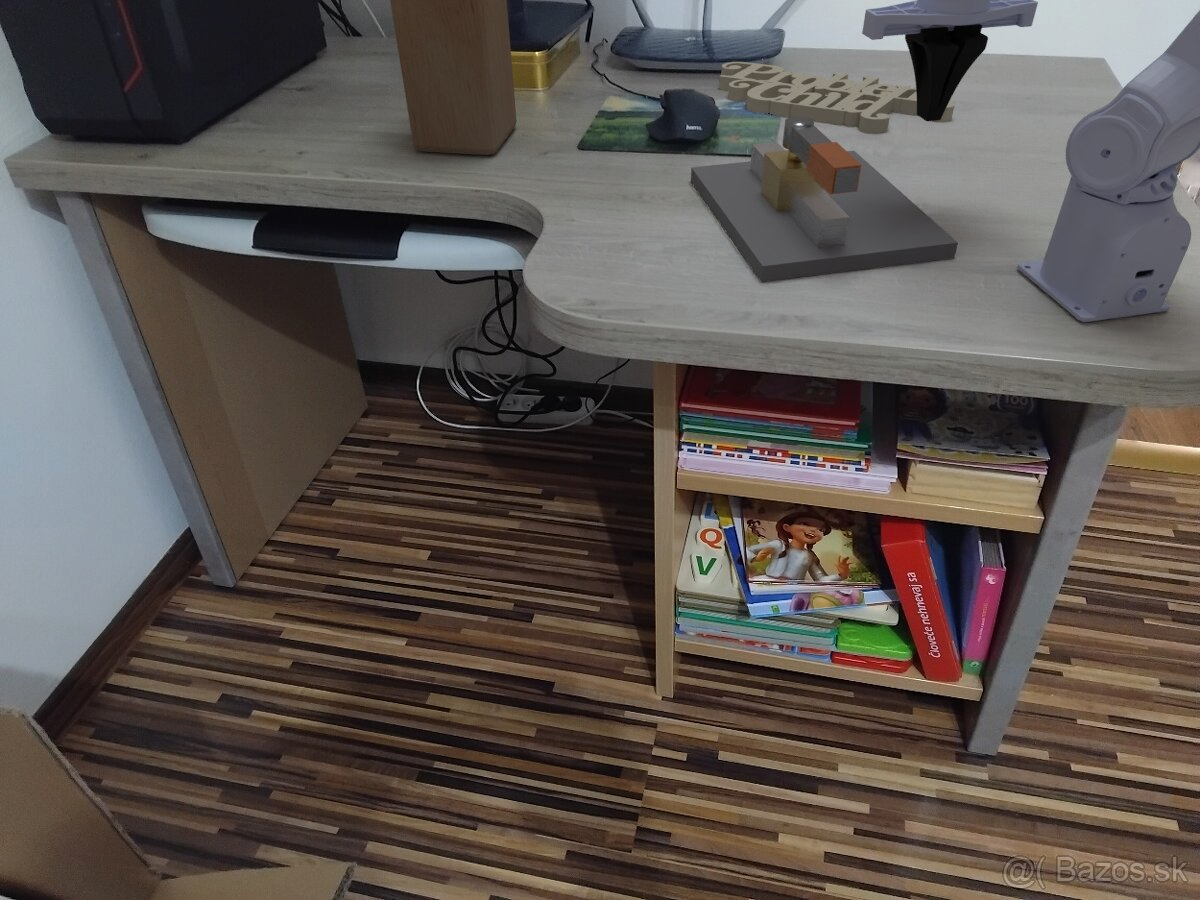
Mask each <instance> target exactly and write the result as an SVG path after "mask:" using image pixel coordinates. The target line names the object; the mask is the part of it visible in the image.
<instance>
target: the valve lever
mask: <svg viewBox="0 0 1200 900" xmlns="http://www.w3.org/2000/svg"><path fill="white" fill-rule="evenodd" d="M782 148H783V149H784V148H785V149H787V150H788V149H789V150H791V151H792V152H793V153H794V154H795V155H796V156H797V157H798V158H799V159H800V160H801V161H802V162H803V163H804V164H805V165H806V166H807V171H808V172H809V173H810V174H811V175H812V176H813V178H814V179H815V180H816V181H817V182H818V183H819V184H820V185H821V186H822V187H823V188H824V189H825V190H826V191H827V192H828V193H829V194H830V195H831V194H840V193H849V192H857V189H858V183H859V178H860V172H861V166H862V165H861V164H860V163H859V162H858V161H857V160H856V159H855V158H854V157H853V156H851V155H850V154H849V153H848V152H847V151H848V150H846V149H845V148H844V147H843V146H841V144H840V143H838V142H837V141H832V140H830V138H828V137H827V136H826V135H825V134H824V133H823V132H822V131H820V130H819V129H818V128H817V126H815V121H813V120H812V119H810V118H807V117H789V118H787V117H786V119H785V121H784V126H783V137H782Z"/></svg>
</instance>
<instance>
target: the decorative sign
mask: <svg viewBox="0 0 1200 900" xmlns="http://www.w3.org/2000/svg"><path fill="white" fill-rule="evenodd" d="M848 77H849V73H837V72H833V73H832V77H829V78H828V79H827V78H826V77H824V76H820V75H809V74H808V75H805V74H804V73H801V72H791V71H785V68H783V67H782V66H778V65H772V64H764V63H763V64H762V63H757V62H745V61H731V62H725V63H722V65H721V75H719V78H718V79H719V81H718V89H719V90H721V91H728V95H727V98H728V100H730V101H732V102H746V104H745V106H746V107H745V108H746V110H747V109H748V110H747V111H749V110H750V111H749V112H751V111H753V112H752V113H754V112H759V113H770V114H773V115H776V116H775V117H781V118H786V119H787V118H790V117H807V118H810V119H812V120H813V121H814V123H823V124H827V125H828V124H829V125H835V126H836V125H837V126H845V127H848V128H849V127H850V128H852V127H853V128H855V127H858V131H859V132H862V133H864V134H870V135H879V134H885V133H887V132H888V130H889V129H888V127H889V124H890V118H891V115H890V114H892V113H894V114H901V115H909V116H914V117H915V116H918V115H917V94H916V87H911V86H910V85H897V84H896V85H894V84H891V83H890V84H889V83H879V80H880V77H877V76H875V77H873V76H872V77H871V76H862V80H861V81H860V82H858V83H857V82H856V81H855V80H852V79H848ZM955 105H956V104H955V102H954V103H953V102H951V101H949V103H948V105H947V107H946V109H945V111H944V113H943V116H942V118H941V120H937V121H931V122H934V123H949V122H951V121H952V119H953V115H954V109H955ZM770 114H769V115H770ZM773 115H772V116H773Z"/></svg>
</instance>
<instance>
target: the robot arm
mask: <svg viewBox="0 0 1200 900" xmlns="http://www.w3.org/2000/svg"><path fill="white" fill-rule="evenodd" d="M1038 4H1039V2H1038V1H1036V0H911V1H906V2H902V3H897V4H891V5H888V6H883V7H876V8H875V7H874V8H867V9H865V13H864V19H863V25H862V32H861V34H862V35H864V36H866V37H867V38H868V39H870V40H872V41H875V40H882V39H884V37H891V36H892V37H893V36H894V37H895V36H904V39H905V43H906V45H907V48H908V51H909V55H910V59H911V63H912V68H913V73H914V80H915V81H914V82H915V88H916V94H917V116H918V117H920V118H921V119H922V120H923V121H925V122H932V121H937V120H941V118H942V116H943V113H944V111H945V109H946V107H947V105H948V103H949V102H951V99H952V97H953V95H954V93H955V91H956V89H957V88H958V86H959V84H960V83H961V82H962V79H964V77H965V75H966V74H967V72H968V71H969V69H970V68H971V67H972V65H973V64H974V63H975V62H976V61H977V59H978V58H979V57H980V56H981V55H982V54H983V52H984V51H986V48H987V45H988V40H989V37H988V36H987V35H986V34H984V33H982V29H986V28H998V27H1008V26H1009V27H1011V26H1017V27H1020V28H1028V27H1029V28H1031V27H1032V25H1033V22H1034V19H1035V15H1036V12H1037V8H1038ZM1199 150H1200V9H1199V10H1198V12H1196V14H1195V15H1194V16H1193V18H1191V20H1190V21H1189V22H1188V23H1187V25H1186V26H1185V27H1184V28H1183V30H1181V32H1180V33H1179V34H1178V35H1177V37H1176V38H1175V39H1174V40H1173V41H1172V42H1171V44H1170V45H1169V46H1168V47H1167V48H1166V50H1164V51H1163V53H1162V54H1161V55H1160V56H1158V57H1157V58H1156V59H1155V60H1154V61H1152V62H1151V63H1150V64H1149V65H1147V66H1146V67H1145V68H1144V69H1143V70H1142V71H1140V72H1139V73H1138V74H1136V76H1135V77H1133V78H1132V79H1131V80H1130V81H1129V82H1127V83H1126V84H1125V85H1124V87H1123V88H1122V89H1121V90H1120V91H1119V92H1118V93H1117V95H1116V96H1115V97H1114V98H1113V99H1112V100H1110V102H1108V103H1107V104H1105V105H1104V106H1102V107H1100V108H1098V109H1096V110H1093V111H1091V112H1090V113H1088V114H1087V115H1085V116H1084V117H1083V118H1081V120H1079V121H1078V122H1077V123H1076V125H1075V126H1074V127H1073V128H1072V130H1071V132H1070V134H1069V137H1068V139H1067V142H1066V146H1065V161H1066V162H1065V163H1066V166H1067V169H1068V172H1069V173H1070V175H1071V176H1070V179H1069V183H1068V185H1067V189H1066V191H1065V195H1064V198H1063V201H1062V202H1061V206H1060V209H1059V213H1058V216H1057V219H1056V222H1055V225H1054V227H1053V231H1052V232H1051V233H1052V234H1051V237H1050V240H1049V242H1048V246H1047V249H1046V252H1045V255H1044V258H1043V259H1035V260H1034V259H1033V260H1027V261H1021V262H1018V263H1017V266H1016V268H1017V269H1018V270H1019V271H1020V272H1021V273H1022V274H1023V275H1024V276H1025V277H1027V278H1028V279H1029V280H1030V281H1031V282H1033V283H1034V284H1036V286H1038V288H1040V289H1041V290H1043V292H1045V294H1047V295H1048V296H1050V298H1052V299H1053V300H1054V301H1055V302H1057V303H1058V304H1059V305H1060V306H1061V307H1063V309H1065V310H1066V311H1067V312H1069V314H1071V315H1072V316H1073V317H1075V319H1077V320H1078V321H1080V322H1082V323H1087V322H1096V321H1103V320H1111V319H1118V318H1125V317H1131V316H1138V315H1139V316H1140V315H1147V314H1153V313H1154V314H1155V313H1161V312H1162V313H1163V312H1168V311H1169V310H1170V309H1171V307H1172V306H1171V305H1172V304H1171V303H1169V302H1168V301H1166V299H1167V296H1168V294H1169V291H1170V290H1171V287H1172V286H1173V285H1172V284H1173V282H1174V280H1175V278H1176V276H1177V274H1178V272H1179V269H1180V267H1181V265H1182V262H1183V259H1184V257H1185V255H1186V253H1187V251H1188V248H1189V246H1190V244H1191V239H1192V229H1191V225H1190V223H1189V220H1187V219H1186V218H1185V217H1184V216H1183V215H1182V214H1181V213H1180V211H1179V210H1178V208H1177V206H1176V204H1175V199H1174V193H1175V191H1176V187H1177V182H1178V168H1179V167H1180V163H1183V162H1184V161H1186V160H1188V159H1190V158H1191V157H1193V156H1194V155H1195V154H1196V153H1197V152H1199Z"/></svg>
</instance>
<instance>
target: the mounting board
mask: <svg viewBox="0 0 1200 900" xmlns="http://www.w3.org/2000/svg"><path fill="white" fill-rule="evenodd" d="M846 151H847V152H848V153H849V154H850V155H851V156H853V157H854V158H855V159H856V160H857V161H858V162H859V163H860V164H861V165H862V166H861V172H860V178H859V183H858V189H857V192H849V193H840V194H831V195H830V194H829V193H828V192H827V191H826V190H825V189H824V188H823V190H824V191H825V192H826V193H827V194H828V195H829V196H830V197H831V198H832V199H833V200H834V201H835V202H836V203H837V204H838V206H839V207H840V208H841V209H842V210H843V211H844V212H845V213H846V214H847V215H848V216H849V217H850V218H849V224H848V230H847V236H846V242H845V245H839V246H830V247H822V248H817V247H816V246H815V245H814V244H813V243H812V241H811V240H810V239H809V238H808V237H807V236H806V234H805V233H804V232H803V231H802V230H801V229H800V227H799V226H798V225H797V224H796V223H795V221H794V220H793V219H792V218H791V217H790V216H789V214H788V213H787V212H786V211H779V212H776V211H775V210H774V208H773V207H772V206H771V205H770V204H769V202H768V201H767V200H766V199H765V198H764V196H763V195H762V194H761V184H762V183H761V182H760V180H759V179H758V178H757V177H756V176H755V174H754V173H753V172H752V171H751V170H750V165H751V160H750V161H741V162H732V163H730V162H729V163H721V164H712V165H702V166H693V167H692V166H691V168H690V182H691V184H692V185H693V186H694V188H695V190H696V191H697V192H698V194H699V195H700V197H701V198H702V200H703V201H704V202H705V204H706V206H707V207H708V208H709V209H710V211H711V212H712V214H713V215H714V217H715V218H716V220H717V221H718V223H719V224H720V226H721V227H722V228H723V230H724V231H725V232H726V234H727V236H728V237H729V238H730V239H731V241H732V242H733V244H734V246H735V247H736V249H738V251H739V252H740V254H741V256H743V258H744V259H745V261H746V262H747V264H748V265H749V267H750V268H751V270H752V272H754V274H755V275H756V277H757V278H758V280H759V281H760V282H761V283H763V282H769V281H779V280H780V281H781V280H787V279H788V280H789V279H797V278H804V277H811V276H819V275H825V274H826V275H827V274H835V273H845V272H852V271H860V270H861V271H862V270H867V269H868V270H869V269H876V268H877V269H878V268H884V267H894V266H900V265H908V264H917V263H924V262H925V263H926V262H934V261H943V260H950V259H955V255H956V253H957V248H958V245H959V242H958V241H957V240H956V239H955V238H954V237H953V236H951V235H950V234H949V233H948V232H947V231H946V230H945V229H944V228H942V227H941V226H940V225H939V224H938V223H937V222H936V221H935V220H933V218H931V217H930V216H929V215H928V214H926V213H925V212H924V211H923V210H922V209H921V208H920V207H918V206H917V205H916V204H915V203H914V202H913V201H912V200H911V199H910V198H908V197H907V196H906V195H905V194H904V193H902V192H901V191H900V190H899V189H898V187H896V186H895V185H894V184H893V183H891V181H889V180H888V179H887V178H886V177H885V176H884V175H882V174H881V172H879V171H878V170H877V169H876V168H874V167H873V166H872V165H871V164H870V163H869V162H868V161H867V160H866V159H864V158H863V157H862V156H861V155H860V154H859V153H858V152H856V151H855V150H846Z"/></svg>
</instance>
